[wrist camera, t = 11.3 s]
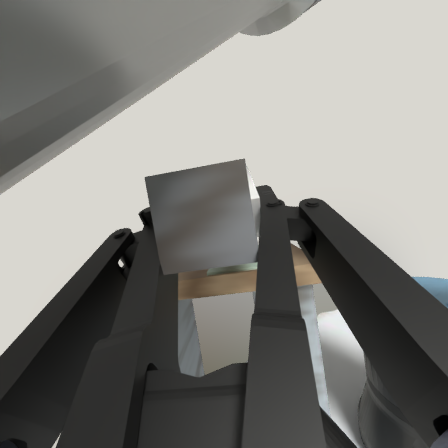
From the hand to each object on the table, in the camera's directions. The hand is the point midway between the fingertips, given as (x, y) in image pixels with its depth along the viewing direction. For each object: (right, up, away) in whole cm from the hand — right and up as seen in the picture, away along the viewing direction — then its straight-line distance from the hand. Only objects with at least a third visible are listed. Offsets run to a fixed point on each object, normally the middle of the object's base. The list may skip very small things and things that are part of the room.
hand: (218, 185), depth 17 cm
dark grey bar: (+1, -4, +6) cm, 7 cm away
